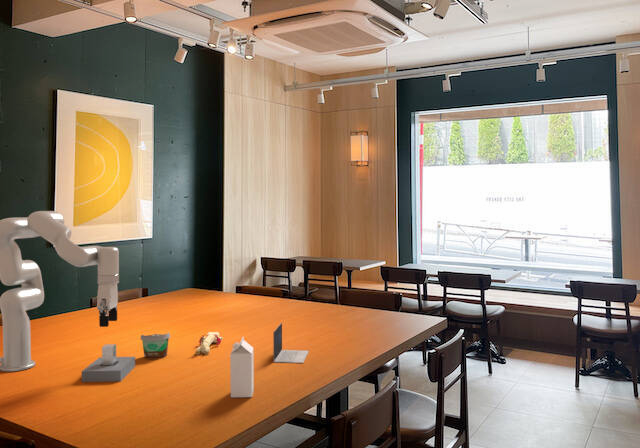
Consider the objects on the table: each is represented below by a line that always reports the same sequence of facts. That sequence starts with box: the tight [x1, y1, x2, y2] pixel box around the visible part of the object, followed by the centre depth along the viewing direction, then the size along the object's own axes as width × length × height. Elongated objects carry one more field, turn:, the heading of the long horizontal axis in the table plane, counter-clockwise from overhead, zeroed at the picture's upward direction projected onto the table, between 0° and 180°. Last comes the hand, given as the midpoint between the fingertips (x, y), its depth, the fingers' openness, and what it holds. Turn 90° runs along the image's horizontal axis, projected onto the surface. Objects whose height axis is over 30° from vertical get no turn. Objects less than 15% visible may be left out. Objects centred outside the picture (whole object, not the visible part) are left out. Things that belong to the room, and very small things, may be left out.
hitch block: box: [81, 356, 136, 383], centre depth 201 cm, size 14×18×4 cm
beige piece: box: [194, 331, 224, 356], centre depth 239 cm, size 10×9×25 cm
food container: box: [140, 332, 171, 360], centre depth 223 cm, size 12×6×10 cm, turn 105°
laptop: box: [272, 322, 310, 364], centre depth 224 cm, size 18×12×13 cm
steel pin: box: [101, 343, 117, 366], centre depth 201 cm, size 4×4×11 cm
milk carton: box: [229, 336, 255, 398], centre depth 179 cm, size 7×7×19 cm
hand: (108, 323), depth 201 cm, fingers open, 9 cm apart
